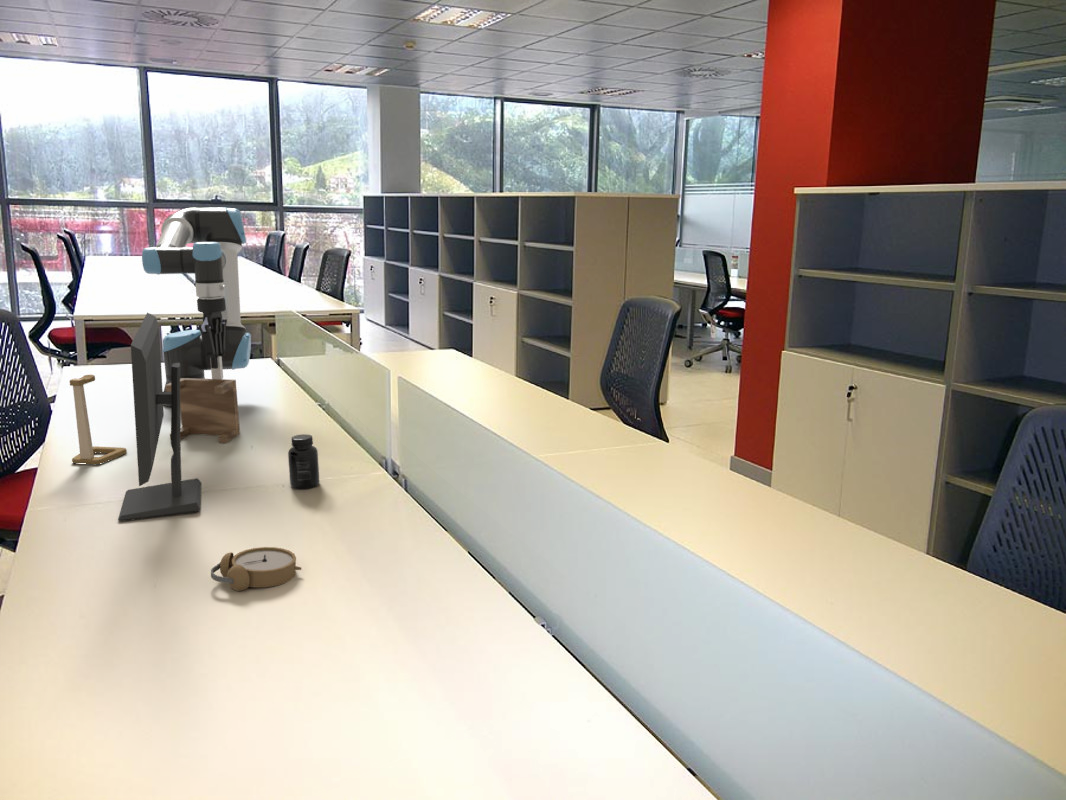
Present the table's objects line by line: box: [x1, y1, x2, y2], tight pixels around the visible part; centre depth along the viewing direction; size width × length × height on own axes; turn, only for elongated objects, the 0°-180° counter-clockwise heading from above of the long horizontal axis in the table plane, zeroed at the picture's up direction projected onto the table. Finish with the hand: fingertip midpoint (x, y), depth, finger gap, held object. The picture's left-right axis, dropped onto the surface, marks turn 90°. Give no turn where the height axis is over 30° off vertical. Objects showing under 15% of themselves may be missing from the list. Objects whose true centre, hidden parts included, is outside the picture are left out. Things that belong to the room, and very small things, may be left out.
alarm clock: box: [210, 546, 302, 592], centre depth 150 cm, size 11×5×15 cm
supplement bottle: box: [287, 434, 320, 490], centre depth 196 cm, size 7×7×12 cm
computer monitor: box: [117, 312, 202, 522], centre depth 180 cm, size 44×16×40 cm, turn 21°
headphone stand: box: [69, 374, 128, 465], centre depth 212 cm, size 10×11×22 cm
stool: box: [164, 378, 241, 444], centre depth 232 cm, size 9×16×16 cm, turn 85°
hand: (217, 378), depth 240 cm, fingers closed
